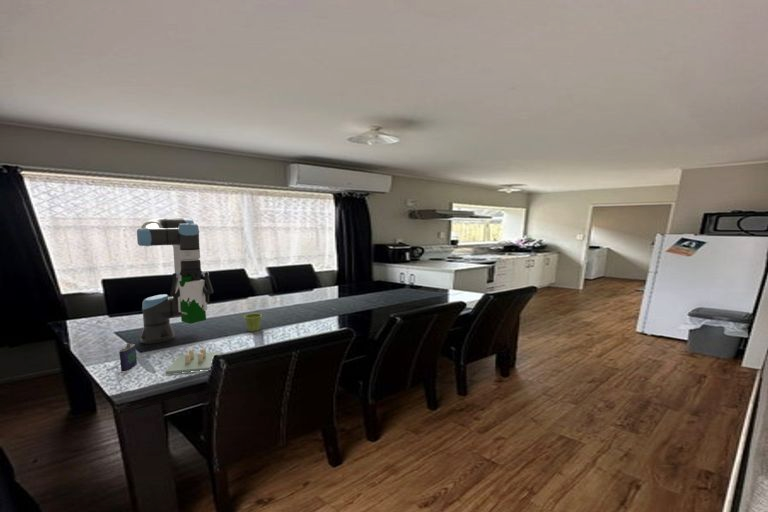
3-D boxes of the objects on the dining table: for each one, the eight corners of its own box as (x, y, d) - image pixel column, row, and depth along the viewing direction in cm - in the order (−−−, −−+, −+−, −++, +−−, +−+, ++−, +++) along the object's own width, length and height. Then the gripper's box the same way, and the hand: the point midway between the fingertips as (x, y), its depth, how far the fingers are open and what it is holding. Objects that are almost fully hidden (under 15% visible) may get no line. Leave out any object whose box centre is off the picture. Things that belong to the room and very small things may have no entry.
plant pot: (256, 333, 193) (255, 318, 192) (241, 332, 195) (241, 317, 194) (265, 328, 202) (264, 313, 201) (251, 327, 204) (250, 313, 203)
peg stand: (165, 374, 141) (165, 362, 140) (180, 358, 158) (179, 346, 157) (213, 370, 145) (212, 358, 144) (222, 354, 162) (221, 343, 162)
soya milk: (178, 321, 148) (175, 276, 146) (198, 316, 155) (196, 273, 153) (189, 324, 143) (186, 278, 141) (209, 319, 151) (207, 275, 149)
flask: (132, 363, 152) (130, 340, 151) (139, 362, 152) (137, 339, 151) (119, 372, 143) (117, 347, 142) (126, 371, 143) (125, 347, 142)
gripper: (158, 261, 140) (161, 314, 143) (216, 259, 146) (218, 311, 148) (165, 259, 148) (168, 310, 150) (219, 258, 153) (222, 307, 155)
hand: (193, 310), depth 149 cm, fingers closed on soya milk, 9 cm apart
